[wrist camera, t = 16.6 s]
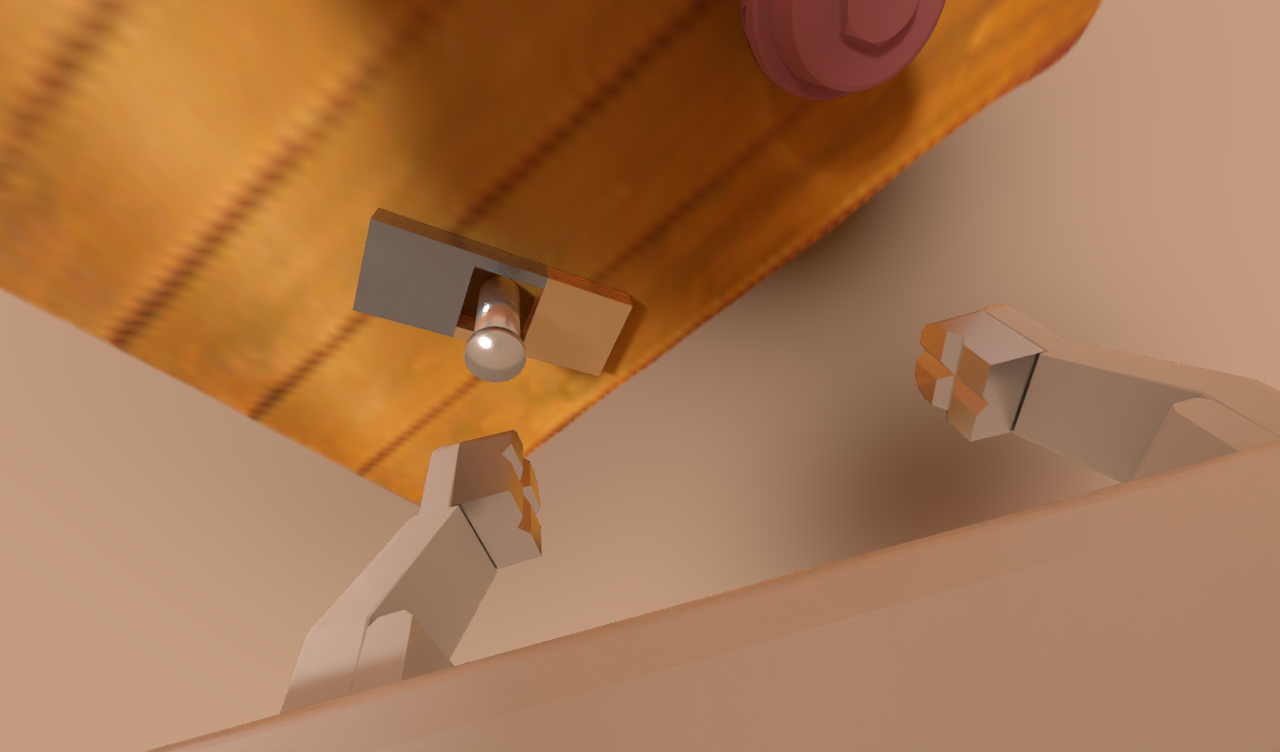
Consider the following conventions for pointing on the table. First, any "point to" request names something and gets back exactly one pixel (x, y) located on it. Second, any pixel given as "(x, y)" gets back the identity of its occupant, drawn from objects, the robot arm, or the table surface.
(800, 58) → the mechanical component
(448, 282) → the two-tone slotted plate
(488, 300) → the metal peg
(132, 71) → the table surface
